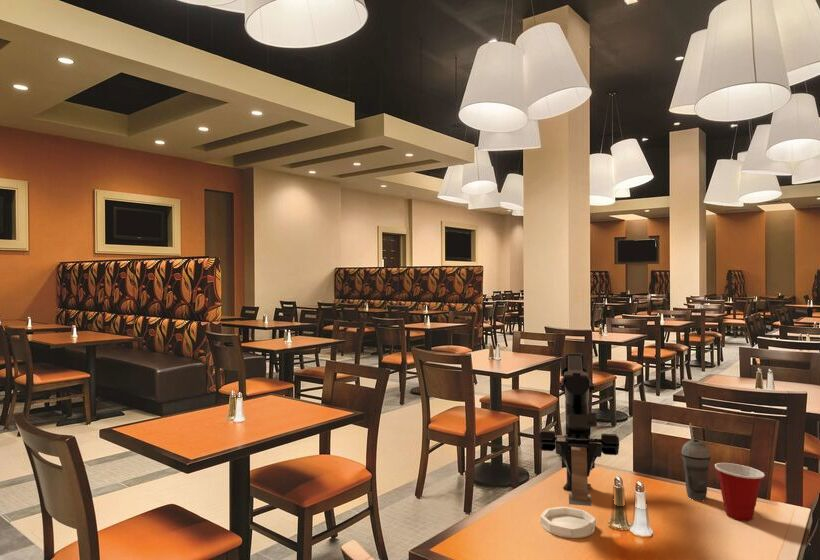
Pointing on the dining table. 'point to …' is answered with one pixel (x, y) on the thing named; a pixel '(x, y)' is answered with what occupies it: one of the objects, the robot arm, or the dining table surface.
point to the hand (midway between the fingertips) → (579, 475)
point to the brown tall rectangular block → (579, 477)
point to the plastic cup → (739, 489)
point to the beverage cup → (696, 467)
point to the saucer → (568, 522)
